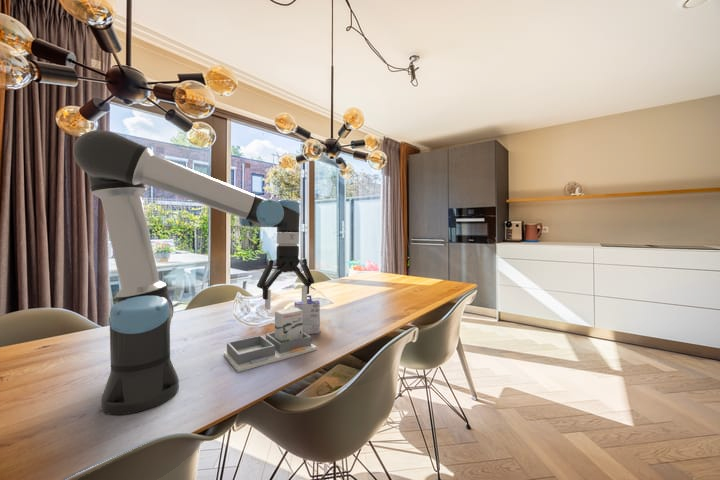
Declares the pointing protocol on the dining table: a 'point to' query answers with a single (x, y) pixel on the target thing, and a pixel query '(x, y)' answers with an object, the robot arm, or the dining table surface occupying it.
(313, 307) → the ink cartridge box
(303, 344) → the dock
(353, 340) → the dining table surface
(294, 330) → the ink box
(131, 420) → the dining table surface
